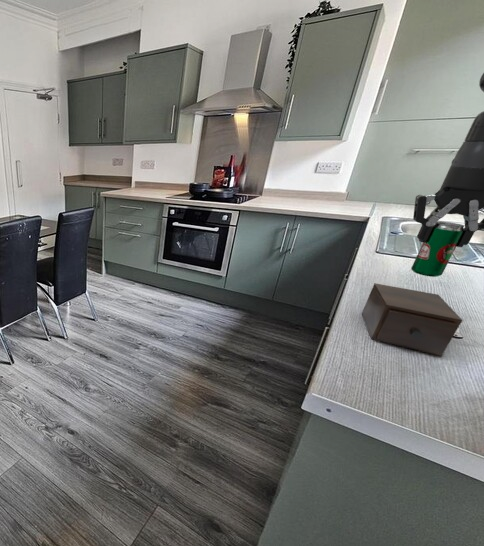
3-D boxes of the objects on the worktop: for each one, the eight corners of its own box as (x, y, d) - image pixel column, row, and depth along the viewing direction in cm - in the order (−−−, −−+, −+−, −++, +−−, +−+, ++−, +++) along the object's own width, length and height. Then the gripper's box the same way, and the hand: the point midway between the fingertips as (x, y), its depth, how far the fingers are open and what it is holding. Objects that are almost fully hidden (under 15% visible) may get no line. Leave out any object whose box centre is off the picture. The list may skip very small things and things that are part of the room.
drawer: (443, 358, 68) (461, 327, 65) (377, 341, 74) (391, 313, 70) (422, 327, 79) (436, 300, 76) (366, 315, 85) (377, 289, 82)
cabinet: (441, 356, 70) (462, 320, 66) (371, 339, 76) (386, 304, 72) (421, 327, 81) (438, 294, 77) (361, 313, 87) (374, 283, 83)
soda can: (407, 267, 77) (429, 220, 72) (437, 272, 74) (461, 223, 69) (413, 274, 73) (436, 224, 68) (444, 279, 70) (471, 227, 65)
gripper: (435, 164, 65) (400, 242, 71) (545, 168, 57) (495, 254, 64) (424, 163, 70) (393, 235, 77) (523, 166, 63) (479, 245, 70)
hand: (440, 243), depth 70 cm, fingers closed on soda can, 5 cm apart
